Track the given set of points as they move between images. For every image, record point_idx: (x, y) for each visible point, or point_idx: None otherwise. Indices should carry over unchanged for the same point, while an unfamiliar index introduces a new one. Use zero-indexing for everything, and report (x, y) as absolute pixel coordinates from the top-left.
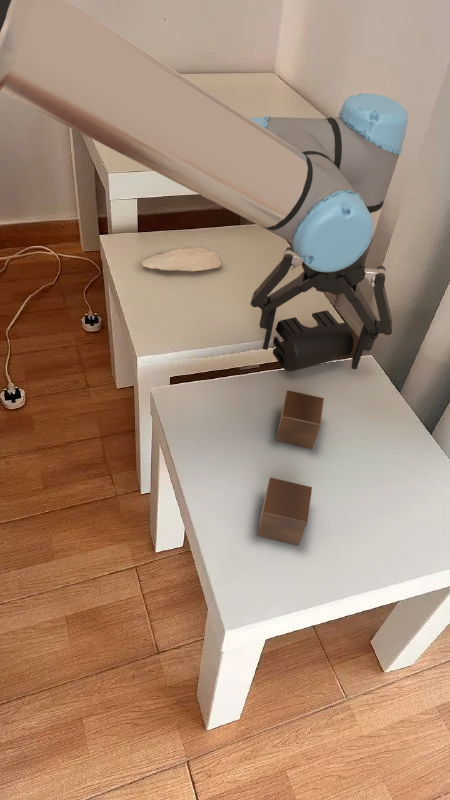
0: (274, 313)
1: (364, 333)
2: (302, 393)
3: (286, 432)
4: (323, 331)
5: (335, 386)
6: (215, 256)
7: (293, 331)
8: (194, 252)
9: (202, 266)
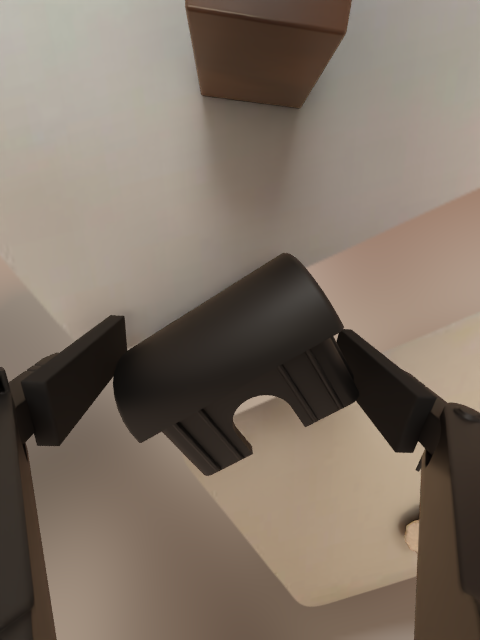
0: (413, 410)
1: (41, 393)
2: (281, 21)
3: None
4: (215, 381)
5: (162, 262)
6: (416, 545)
7: (318, 361)
8: None
9: None
